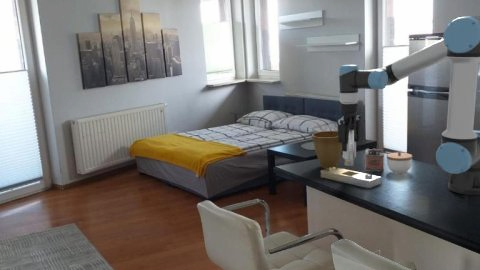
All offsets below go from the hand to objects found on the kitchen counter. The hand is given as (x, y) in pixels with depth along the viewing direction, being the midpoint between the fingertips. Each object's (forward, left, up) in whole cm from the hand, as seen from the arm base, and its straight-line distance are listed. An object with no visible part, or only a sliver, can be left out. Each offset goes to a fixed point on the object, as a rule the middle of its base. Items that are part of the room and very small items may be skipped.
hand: (349, 157), depth 205 cm
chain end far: (+5, 0, -10) cm, 11 cm away
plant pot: (+21, -11, -10) cm, 26 cm away
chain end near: (-5, 0, -10) cm, 11 cm away
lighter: (+1, -19, -10) cm, 22 cm away
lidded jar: (-9, -23, -10) cm, 27 cm away
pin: (0, 0, -3) cm, 3 cm away
